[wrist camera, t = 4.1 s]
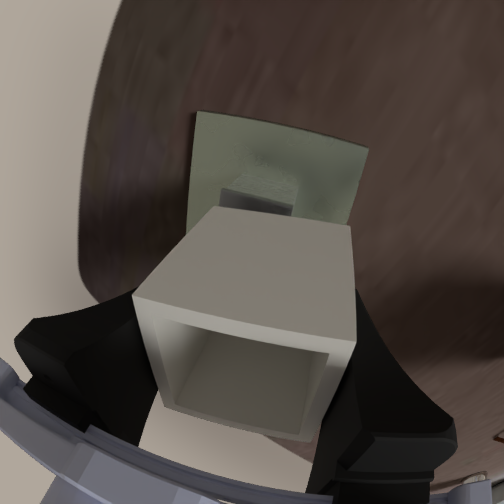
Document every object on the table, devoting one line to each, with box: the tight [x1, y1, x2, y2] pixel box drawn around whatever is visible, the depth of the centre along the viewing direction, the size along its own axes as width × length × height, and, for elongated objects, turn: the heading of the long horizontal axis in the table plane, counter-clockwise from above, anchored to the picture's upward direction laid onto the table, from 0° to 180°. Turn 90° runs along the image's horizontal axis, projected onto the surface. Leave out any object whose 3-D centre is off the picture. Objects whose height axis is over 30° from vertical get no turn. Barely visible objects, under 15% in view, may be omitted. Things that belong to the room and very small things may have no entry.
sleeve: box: [132, 206, 357, 442], centre depth 11 cm, size 5×5×6 cm
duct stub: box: [186, 110, 369, 234], centre depth 17 cm, size 10×10×4 cm
